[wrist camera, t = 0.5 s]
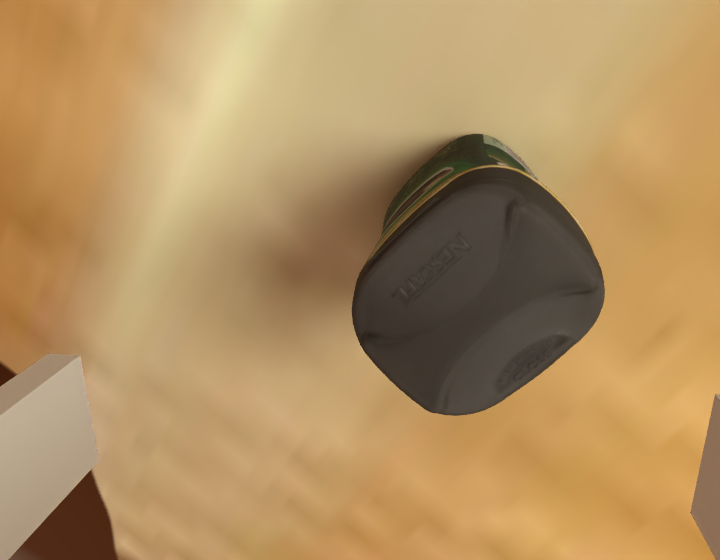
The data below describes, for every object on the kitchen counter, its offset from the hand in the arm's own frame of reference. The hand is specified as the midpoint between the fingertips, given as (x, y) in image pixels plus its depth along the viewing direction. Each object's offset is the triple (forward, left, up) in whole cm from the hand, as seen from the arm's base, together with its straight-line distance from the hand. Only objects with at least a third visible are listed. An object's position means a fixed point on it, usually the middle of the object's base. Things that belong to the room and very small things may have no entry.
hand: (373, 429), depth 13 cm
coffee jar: (+1, +2, -28) cm, 28 cm away
